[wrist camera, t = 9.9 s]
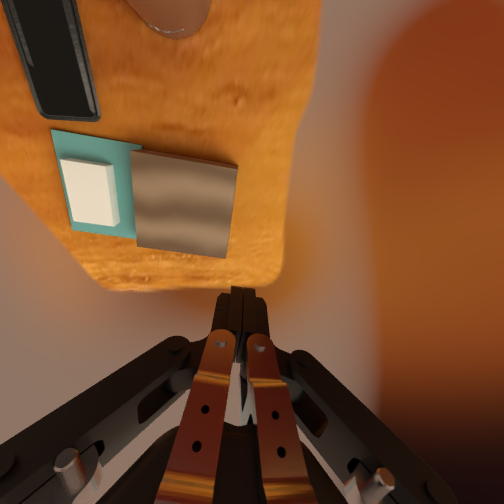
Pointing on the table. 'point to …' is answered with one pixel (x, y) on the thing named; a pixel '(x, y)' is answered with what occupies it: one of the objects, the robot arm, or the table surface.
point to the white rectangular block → (91, 191)
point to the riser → (182, 202)
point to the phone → (54, 58)
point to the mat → (120, 159)
